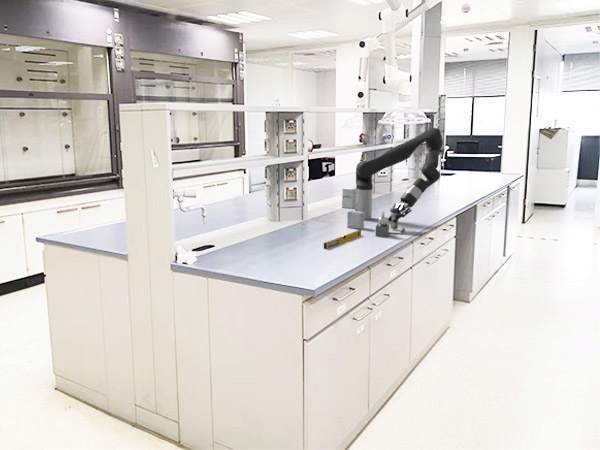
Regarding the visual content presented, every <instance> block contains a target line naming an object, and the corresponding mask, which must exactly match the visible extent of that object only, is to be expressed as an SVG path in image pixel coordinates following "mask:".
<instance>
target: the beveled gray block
mask: <svg viewBox="0 0 600 450" xmlns="http://www.w3.org/2000/svg"><path fill="white" fill-rule="evenodd" d="M377 221H378V223H377V224H376V225H375V234H374V235H375V237H381V236H383V238H384V237H386V238H388V237H389V236H390V234H389V227H390V224H388V217H386V216H385V211H381V216H378V220H377Z"/></svg>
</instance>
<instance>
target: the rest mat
mask: <svg viewBox="0 0 600 450" xmlns="http://www.w3.org/2000/svg"><path fill="white" fill-rule="evenodd" d="M405 229H406V228H405V227H398V229H391V226H389V235H398V234H402V235H403V234H404V232H405Z"/></svg>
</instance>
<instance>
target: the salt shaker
mask: <svg viewBox="0 0 600 450" xmlns="http://www.w3.org/2000/svg"><path fill="white" fill-rule="evenodd" d="M390 211H391V212H390ZM398 211H399V208H392V207H391V208H390V210H389V212H390V215H391V222H390V227H391V229H398V228H399V220H398V221H397V222H396V223H394V222H393V221H392V220H393V218H394V217H395V216H396V215H397V213H398Z"/></svg>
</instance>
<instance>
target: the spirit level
mask: <svg viewBox="0 0 600 450" xmlns="http://www.w3.org/2000/svg"><path fill="white" fill-rule="evenodd" d="M360 236H362V229H358V230H356V231H353V232H349V233H347V234H344V235H343V236H340V237H339V236H338V237H337V238H334V239H331V240H328V241H326V242H323V249H325V250H327V249H329V248H332V247H335V246H337V245H339V244H342V242H343V243H345V242H347V241H350V240H353V239H356V238H358V237H360Z"/></svg>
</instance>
